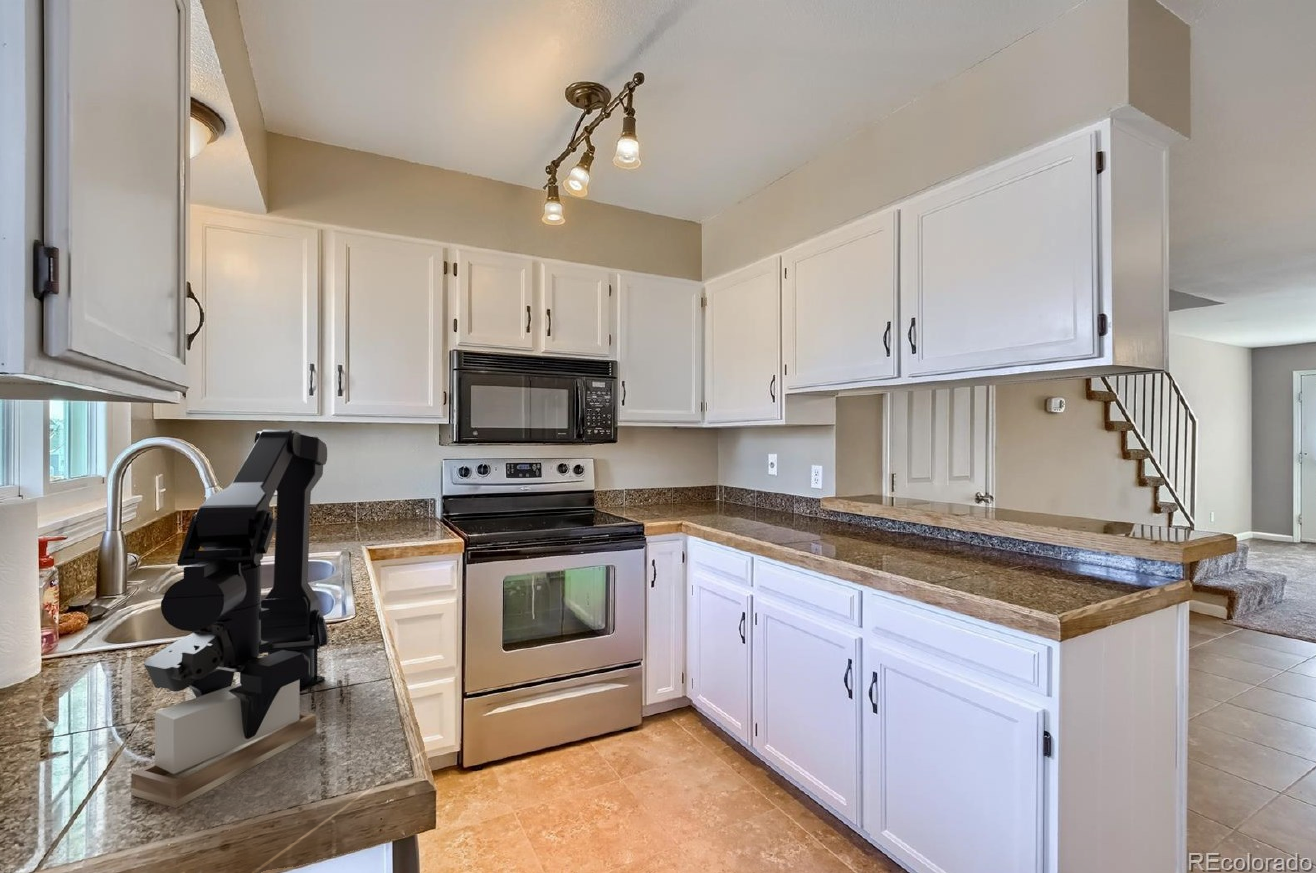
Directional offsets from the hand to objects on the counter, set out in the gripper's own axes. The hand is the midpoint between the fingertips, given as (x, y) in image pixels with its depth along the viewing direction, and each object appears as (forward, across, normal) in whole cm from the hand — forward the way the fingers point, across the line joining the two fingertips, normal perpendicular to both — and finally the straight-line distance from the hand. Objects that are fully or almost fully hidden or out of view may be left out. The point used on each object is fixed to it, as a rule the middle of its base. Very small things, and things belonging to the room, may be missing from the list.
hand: (232, 733), depth 73 cm
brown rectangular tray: (+3, 0, 0) cm, 3 cm away
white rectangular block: (+1, 0, 0) cm, 1 cm away
